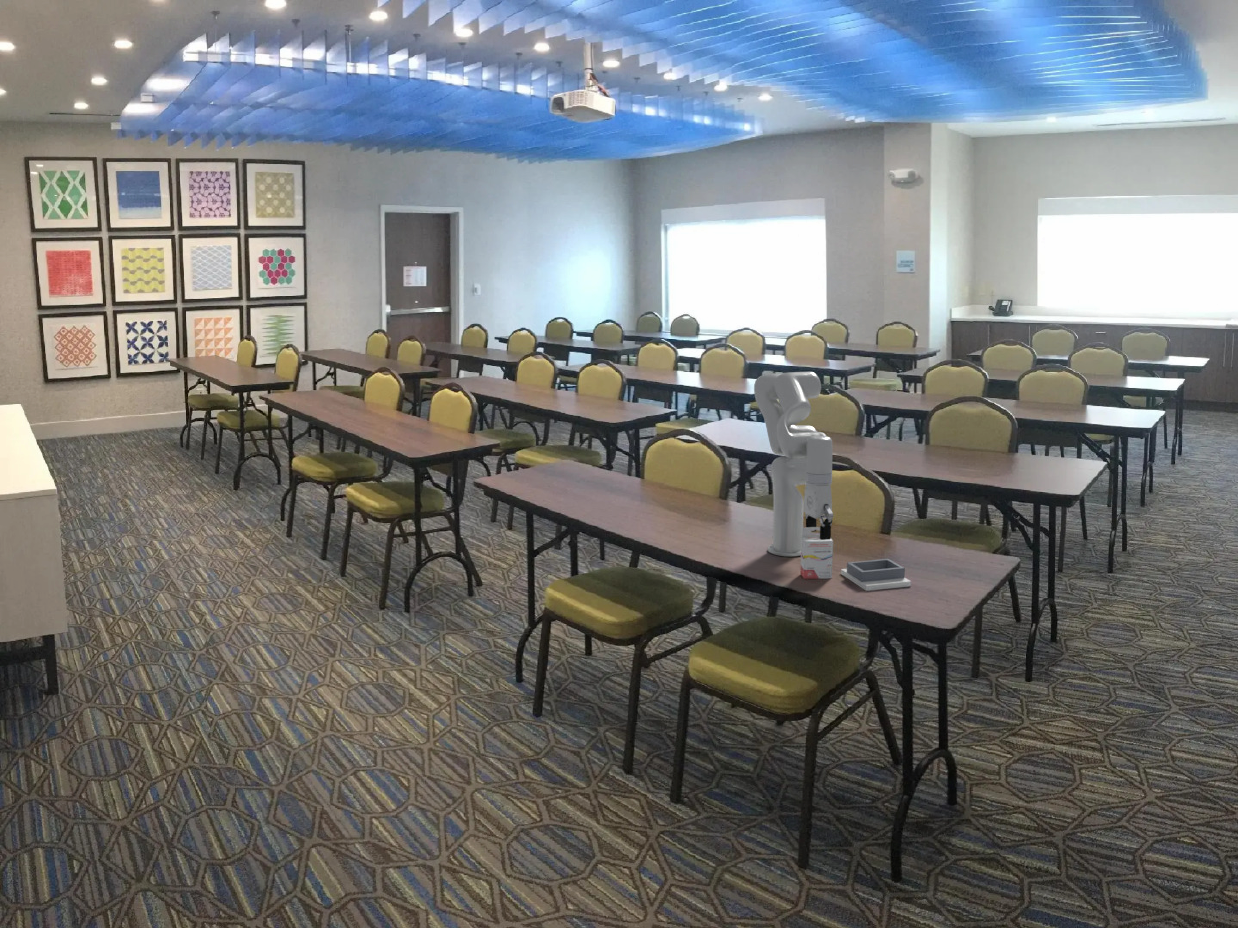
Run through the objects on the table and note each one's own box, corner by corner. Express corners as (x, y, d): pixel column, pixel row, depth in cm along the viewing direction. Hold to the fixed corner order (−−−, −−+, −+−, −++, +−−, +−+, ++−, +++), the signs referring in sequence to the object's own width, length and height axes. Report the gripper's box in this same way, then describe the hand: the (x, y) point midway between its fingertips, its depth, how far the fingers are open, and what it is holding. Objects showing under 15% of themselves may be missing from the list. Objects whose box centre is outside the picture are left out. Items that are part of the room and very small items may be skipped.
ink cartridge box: (803, 579, 283) (804, 531, 280) (800, 574, 288) (801, 526, 285) (832, 578, 283) (833, 530, 281) (828, 573, 288) (829, 526, 285)
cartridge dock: (840, 573, 288) (841, 559, 287) (883, 569, 291) (883, 555, 290) (866, 590, 272) (866, 575, 271) (910, 586, 275) (911, 571, 275)
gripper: (794, 474, 287) (794, 529, 290) (819, 484, 270) (818, 543, 273) (817, 472, 289) (817, 527, 292) (844, 483, 272) (843, 541, 275)
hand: (818, 535), depth 283 cm, fingers open, 9 cm apart
